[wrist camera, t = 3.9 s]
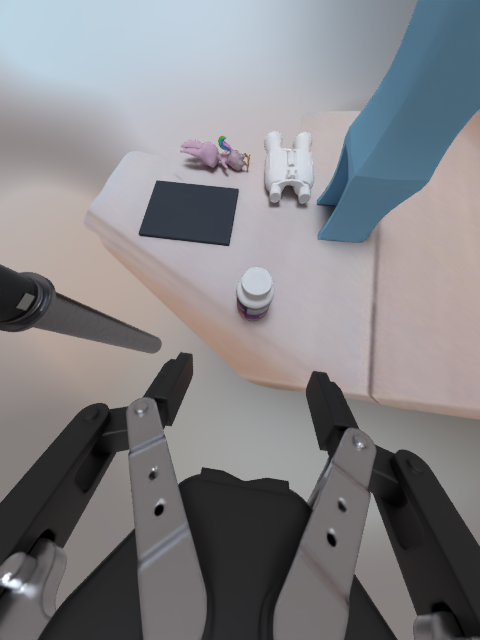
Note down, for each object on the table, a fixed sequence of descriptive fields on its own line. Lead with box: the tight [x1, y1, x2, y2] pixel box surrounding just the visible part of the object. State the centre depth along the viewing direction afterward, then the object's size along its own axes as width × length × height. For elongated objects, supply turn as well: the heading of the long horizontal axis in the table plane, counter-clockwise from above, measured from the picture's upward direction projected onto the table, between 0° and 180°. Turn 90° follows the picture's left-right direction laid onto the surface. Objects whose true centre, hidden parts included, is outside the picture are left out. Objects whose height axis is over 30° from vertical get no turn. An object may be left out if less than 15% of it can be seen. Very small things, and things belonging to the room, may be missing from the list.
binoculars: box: [264, 131, 314, 204], centre depth 39 cm, size 10×16×5 cm, turn 178°
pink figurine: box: [180, 136, 250, 171], centre depth 40 cm, size 6×6×15 cm
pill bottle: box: [236, 267, 274, 320], centre depth 28 cm, size 5×5×10 cm
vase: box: [317, 0, 480, 242], centre depth 26 cm, size 10×10×25 cm
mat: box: [139, 181, 239, 246], centre depth 39 cm, size 18×14×1 cm
